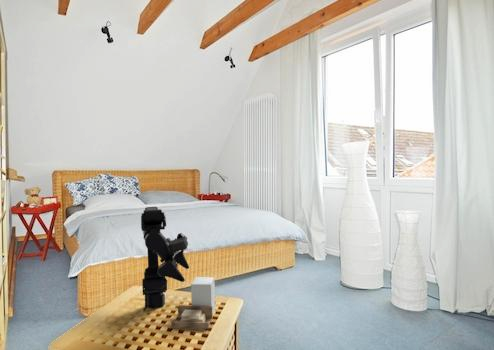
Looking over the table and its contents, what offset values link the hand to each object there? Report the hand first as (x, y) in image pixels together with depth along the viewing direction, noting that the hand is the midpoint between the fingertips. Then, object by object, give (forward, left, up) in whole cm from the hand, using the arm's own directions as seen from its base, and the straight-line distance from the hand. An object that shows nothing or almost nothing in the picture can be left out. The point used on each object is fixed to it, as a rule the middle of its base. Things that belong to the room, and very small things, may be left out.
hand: (186, 274), depth 121 cm
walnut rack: (+4, -9, -15) cm, 17 cm away
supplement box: (+6, 0, -15) cm, 16 cm away
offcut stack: (+4, -9, -14) cm, 17 cm away
